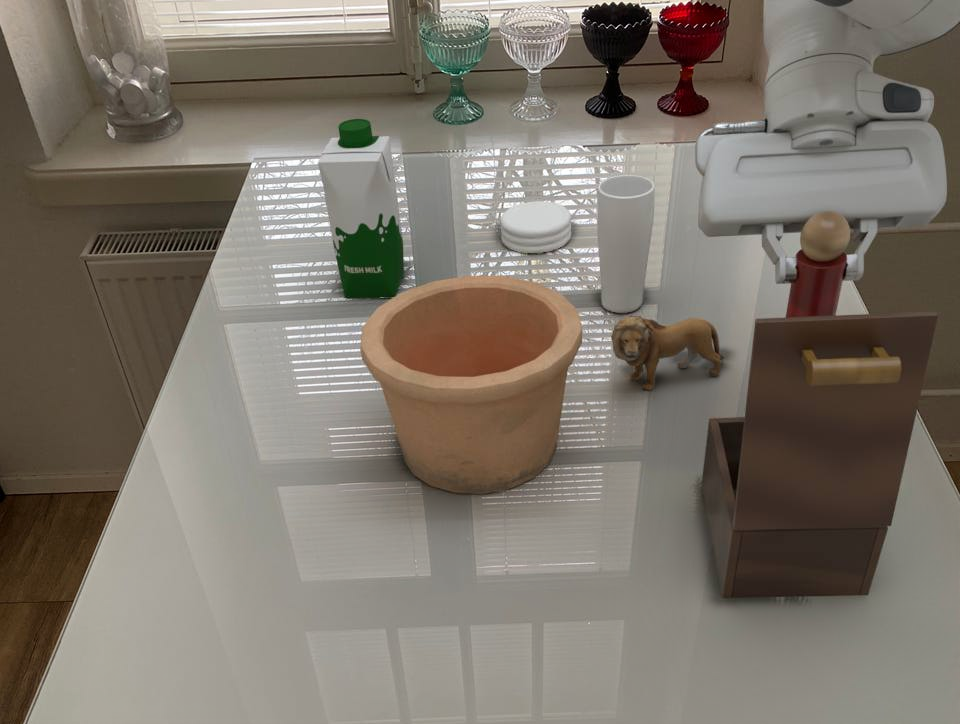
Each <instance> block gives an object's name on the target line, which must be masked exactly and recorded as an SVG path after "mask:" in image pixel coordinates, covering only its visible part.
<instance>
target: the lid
mask: <svg viewBox="0 0 960 724" xmlns="http://www.w3.org/2000/svg"><path fill="white" fill-rule="evenodd" d="M938 318H939V314H938V313H937V312H936V311H933V310H932V311H914V312H912V311H911V312H889V313H888V312H887V313H885V312H884V313H865V314H864V313H863V314H862V313H861V314H860V313H859V314H840V315H839V314H838V315H837V314H836V316H812V317H787V318H786V317H768V318H767V317H765V318H764V317H763V318H755V321H754V327H753V328H754V329H753V337H752V346H751V355H750V364H749V374H748V382H747V383H748V384H747V392H746V400H745V401H746V402H745V409H744V410H745V411H744V417H745V418H744V427H743V436H742V445H741V454H740V463H739V472H738V482H737V491H736V500H735V509H734V518H733V528H734V530H762V529H802V528H842V527H882V526H887V527H892V523H893V520H894V515H895V510H896V505H897V501H898V497H899V492H900V489H901V484H902V479H903V475H904V470H905V466H906V461H907V456H908V452H909V449H910V443H911V439H912V435H913V430H914V426H915V422H916V418H917V417H916V416H917V412H918V409H919V408H918V407H919V403H920V400H921V399H920V398H921V394H922V390H923V386H924V380H925V376H926V372H927V368H928V363H929V358H930V354H931V349H932V345H933V340H934V336H935V332H936V327H937V322H938Z"/></svg>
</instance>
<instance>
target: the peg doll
mask: <svg viewBox="0 0 960 724" xmlns="http://www.w3.org/2000/svg"><path fill="white" fill-rule="evenodd" d="M850 240H851V230H850V226H849V224H848V222H847V220H846V219H845V218H844V217H843V216H842V215H841V214H839V213H837V212H834V211H822V212H819V213H817V214H815V215H813V216H812V217H811V218H810V219H809V220H808V221H807V222H806V223H805V225H804V226H803V228H802V231H801V233H800V236H799V244H800V248H801V249H799V250H798V251H797V252H796V254H795V257H797V265H796V267H795V268H796V269H797V278H796V280H795V281H794V283H790V289H789V294H788V300H787V305H786V313H785V318H787V317H812V316H836V315H837V310H838V306H839V300H840V297H841V296H840V295H841V291H842V285H843V282H844V281H843V277H844V272H845V267H846V262H847V256H846V255H847V253H845V251H846V250H847V247H848V246H849V245H850V244H849V243H850Z"/></svg>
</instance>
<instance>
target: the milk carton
mask: <svg viewBox="0 0 960 724" xmlns="http://www.w3.org/2000/svg"><path fill="white" fill-rule="evenodd" d="M337 128H338V135H339V137H331V138H330V140H329V141H328V143H327V144H326V146H325V147H324V149H323V150H322V152H321V155H320V157H319V159H318V161H317V165H318V169H319V173H320V177H321V183H322V187H323V194H324V199H325V200H324V201H325V206H326V211H327V216H328V223H329V228H330V232H331V240H332V244H333V249H334V254H335V258H336V263H337V264H336V265H337V269H338V273H339V279H340V283H341V287H342V292H343V296H344V299H345V298H347V299H381V298H380V297H395V296H397V294H398V291H399V289H400V286H401V283H400V282H402V280H403V277H404V275H405V263H404V261H405V259H404V258H405V257H404V256H405V255H404V240H403V232H402V223H401V216H400V215H401V214H400V207H399V200H398V192H397V184H396V176H395V169H394V163H393V155H392V148H391V139H390V136H389V135H384V136H383V135H382V136H380V135H373V130H372V124H371V121H369V120H368V119H365V118H351V119H347V120H344V121H342V122H340V123H339V124H338V126H337ZM403 274H404V275H403ZM401 279H402V280H401ZM399 285H400V286H399ZM398 288H399V289H398ZM396 293H397V294H396Z"/></svg>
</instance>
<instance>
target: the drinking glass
mask: <svg viewBox="0 0 960 724" xmlns="http://www.w3.org/2000/svg"><path fill="white" fill-rule="evenodd" d="M654 216H655V183H654V181H652V180H651V179H650V178H648V177H645V176H641V175H637V174H619V175H614V176H611V177H608V178H605V179H603V180H602V181H601V182H600V183H599V184H598V186H597V197H596V232H597V246H598V260H599V261H598V262H599V277H600V304H601V306H602V307H603V308H604V309H605V310H607V311H608V312H610V311H611V312H610V313H614V312H615V314H628V312H629V313H632V312H635V311H637V310H638V309H640V307H641V306H642V305H643V302H644V293H645V282H646V275H647V268H648V260H649V253H650V247H651V239H652V234H653V233H652V232H653V225H654Z"/></svg>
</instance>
